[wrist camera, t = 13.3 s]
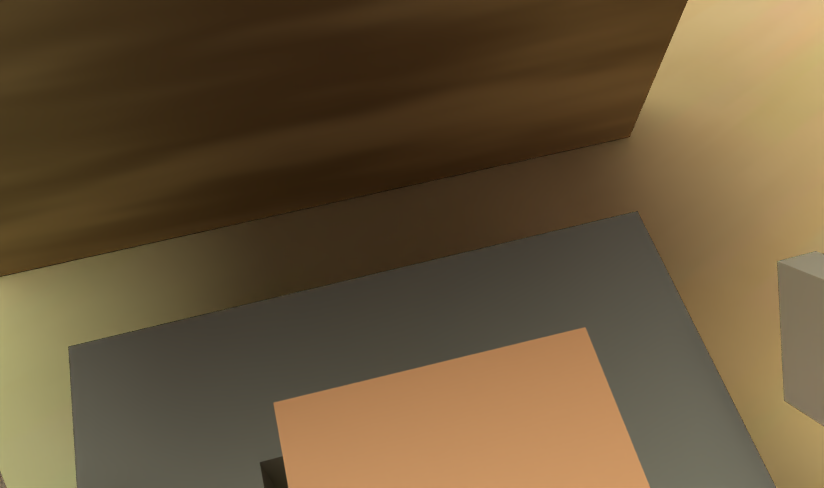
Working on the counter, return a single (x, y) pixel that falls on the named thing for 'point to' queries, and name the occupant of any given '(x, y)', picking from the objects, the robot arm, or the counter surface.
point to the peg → (467, 425)
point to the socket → (408, 361)
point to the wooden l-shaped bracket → (290, 105)
